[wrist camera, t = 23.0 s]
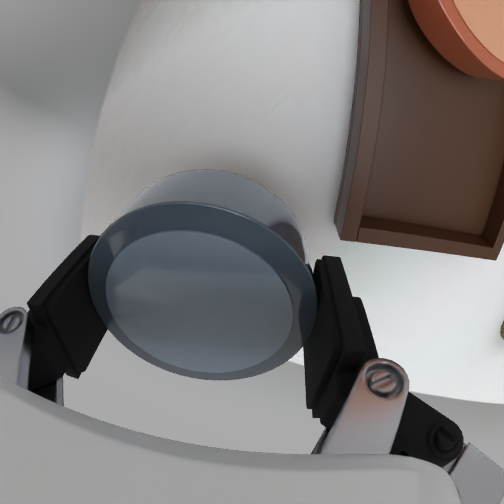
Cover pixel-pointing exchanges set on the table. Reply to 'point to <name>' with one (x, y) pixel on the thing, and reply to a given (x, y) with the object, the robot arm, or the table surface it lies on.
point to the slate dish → (206, 277)
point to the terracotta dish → (465, 33)
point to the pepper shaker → (502, 331)
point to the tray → (420, 145)
